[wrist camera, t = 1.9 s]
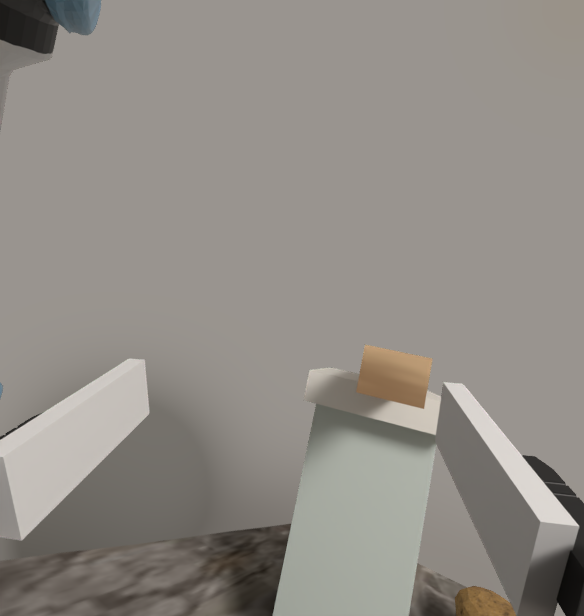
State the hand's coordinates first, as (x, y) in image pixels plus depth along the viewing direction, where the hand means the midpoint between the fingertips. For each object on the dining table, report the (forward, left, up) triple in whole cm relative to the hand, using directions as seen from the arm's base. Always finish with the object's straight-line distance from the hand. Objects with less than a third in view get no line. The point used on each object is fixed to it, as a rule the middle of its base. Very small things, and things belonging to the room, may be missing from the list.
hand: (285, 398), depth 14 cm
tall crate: (0, +29, -30) cm, 41 cm away
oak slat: (+1, +22, 0) cm, 22 cm away
